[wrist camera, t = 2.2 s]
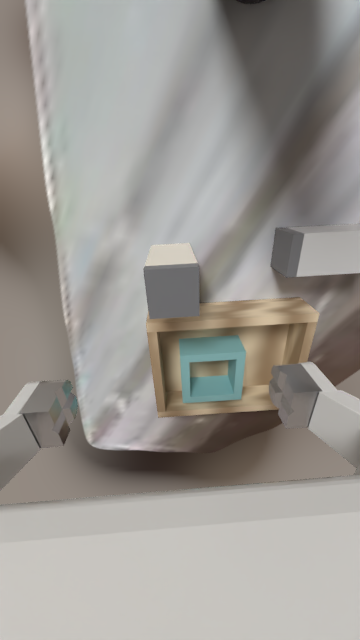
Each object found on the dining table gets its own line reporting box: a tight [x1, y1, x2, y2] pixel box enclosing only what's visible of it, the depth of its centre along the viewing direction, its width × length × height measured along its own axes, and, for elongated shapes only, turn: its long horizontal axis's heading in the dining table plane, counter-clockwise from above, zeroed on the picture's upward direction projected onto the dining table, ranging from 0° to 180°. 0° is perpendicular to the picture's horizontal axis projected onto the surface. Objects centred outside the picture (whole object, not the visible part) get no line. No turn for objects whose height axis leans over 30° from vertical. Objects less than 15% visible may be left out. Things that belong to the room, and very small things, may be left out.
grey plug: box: [271, 223, 360, 277], centre depth 24 cm, size 9×4×4 cm, turn 93°
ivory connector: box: [144, 243, 200, 319], centre depth 22 cm, size 4×4×9 cm
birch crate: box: [146, 297, 319, 418], centre depth 30 cm, size 18×14×4 cm
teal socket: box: [179, 335, 246, 403], centre depth 30 cm, size 7×7×4 cm
